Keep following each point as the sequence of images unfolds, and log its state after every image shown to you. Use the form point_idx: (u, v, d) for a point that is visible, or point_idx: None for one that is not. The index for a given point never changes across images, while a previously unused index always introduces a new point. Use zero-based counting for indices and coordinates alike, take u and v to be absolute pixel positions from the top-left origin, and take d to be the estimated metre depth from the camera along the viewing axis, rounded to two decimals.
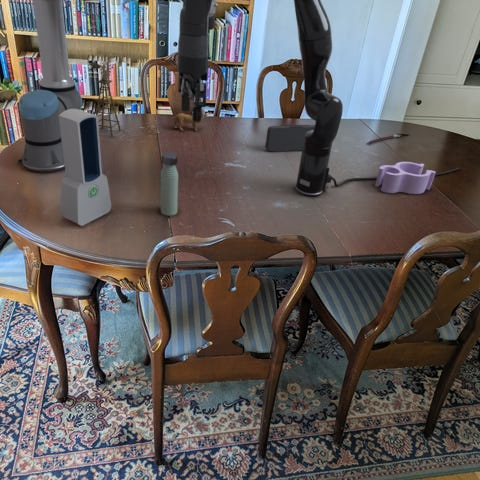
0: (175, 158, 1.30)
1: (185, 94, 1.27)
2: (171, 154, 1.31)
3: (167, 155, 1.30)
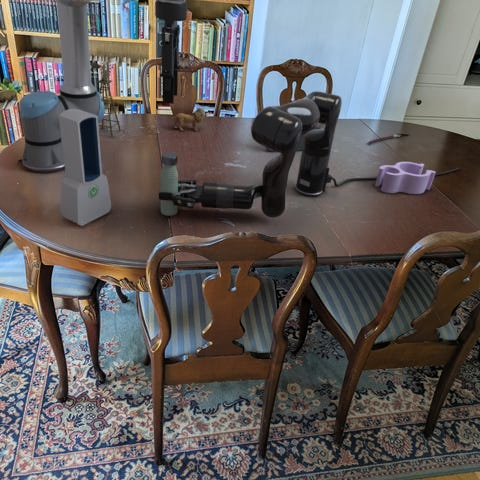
0: (175, 158, 1.30)
1: None
2: (171, 154, 1.31)
3: (167, 155, 1.30)
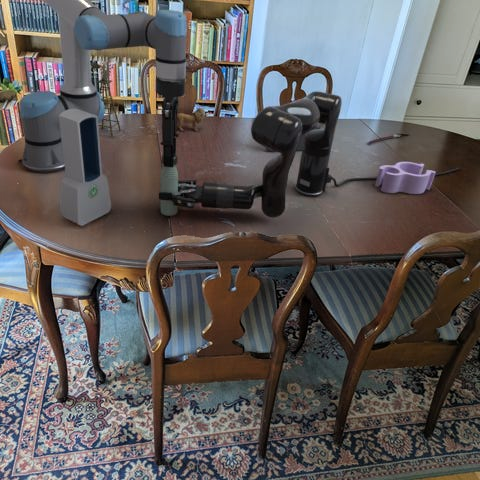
0: (175, 158, 1.30)
1: None
2: None
3: None
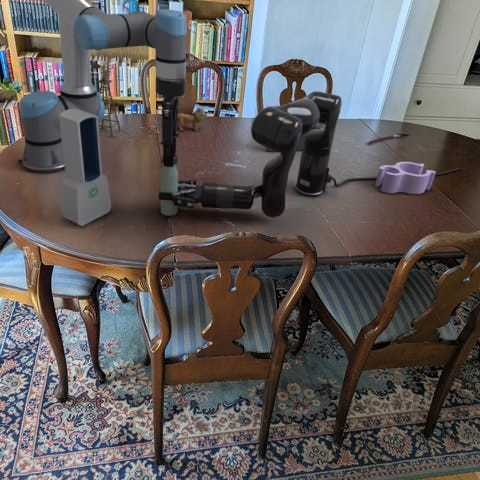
0: None
1: None
2: None
3: None
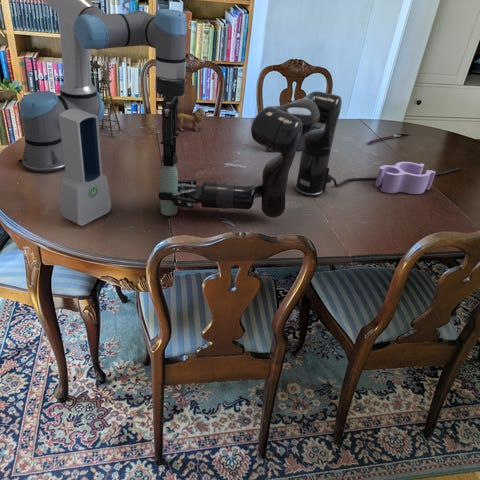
0: None
1: None
2: None
3: None
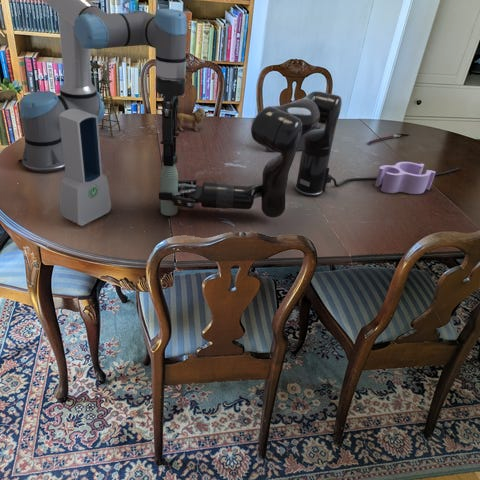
0: (162, 155, 1.30)
1: None
2: None
3: None
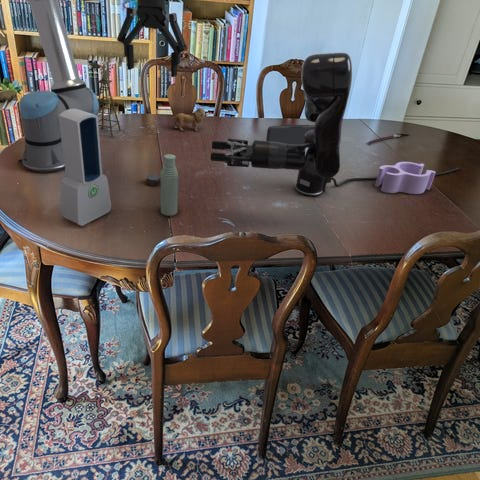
0: (158, 179, 1.53)
1: None
2: (154, 176, 1.54)
3: (151, 177, 1.53)
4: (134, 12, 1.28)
